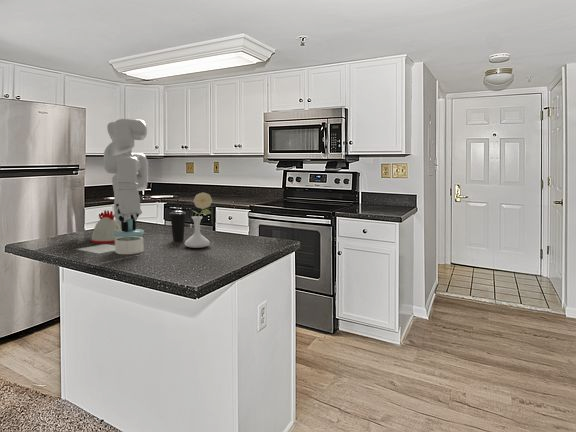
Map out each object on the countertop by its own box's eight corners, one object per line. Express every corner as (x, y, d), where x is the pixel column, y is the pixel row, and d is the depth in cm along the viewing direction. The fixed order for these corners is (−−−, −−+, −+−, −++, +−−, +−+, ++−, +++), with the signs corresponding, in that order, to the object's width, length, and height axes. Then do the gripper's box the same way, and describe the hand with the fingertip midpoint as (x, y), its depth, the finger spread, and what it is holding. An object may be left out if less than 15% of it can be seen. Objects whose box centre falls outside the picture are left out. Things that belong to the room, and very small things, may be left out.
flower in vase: (180, 249, 188) (179, 192, 184) (190, 244, 199) (189, 190, 195) (208, 250, 185) (207, 193, 182) (217, 245, 196) (216, 191, 193)
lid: (107, 234, 176) (106, 219, 175) (131, 230, 186) (130, 216, 185) (126, 237, 170) (126, 222, 169) (150, 233, 180) (149, 219, 179)
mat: (76, 250, 181) (76, 249, 181) (105, 245, 193) (105, 243, 193) (98, 255, 174) (98, 253, 174) (127, 249, 186) (127, 247, 185)
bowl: (109, 253, 177) (109, 239, 176) (131, 248, 186) (131, 235, 186) (127, 256, 171) (126, 242, 171) (148, 251, 181) (148, 238, 180)
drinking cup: (177, 242, 201) (176, 200, 199) (167, 240, 206) (166, 199, 203) (189, 240, 207) (189, 199, 205) (179, 238, 212) (178, 198, 209)
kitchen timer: (112, 245, 193) (110, 212, 192) (85, 243, 196) (83, 211, 194) (129, 239, 207) (128, 209, 205) (103, 238, 210) (102, 208, 208)
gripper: (137, 185, 184) (138, 227, 187) (103, 187, 170) (105, 232, 173) (149, 186, 180) (150, 228, 183) (116, 188, 166) (117, 234, 169)
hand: (128, 230), depth 178 cm, fingers closed on lid, 3 cm apart
